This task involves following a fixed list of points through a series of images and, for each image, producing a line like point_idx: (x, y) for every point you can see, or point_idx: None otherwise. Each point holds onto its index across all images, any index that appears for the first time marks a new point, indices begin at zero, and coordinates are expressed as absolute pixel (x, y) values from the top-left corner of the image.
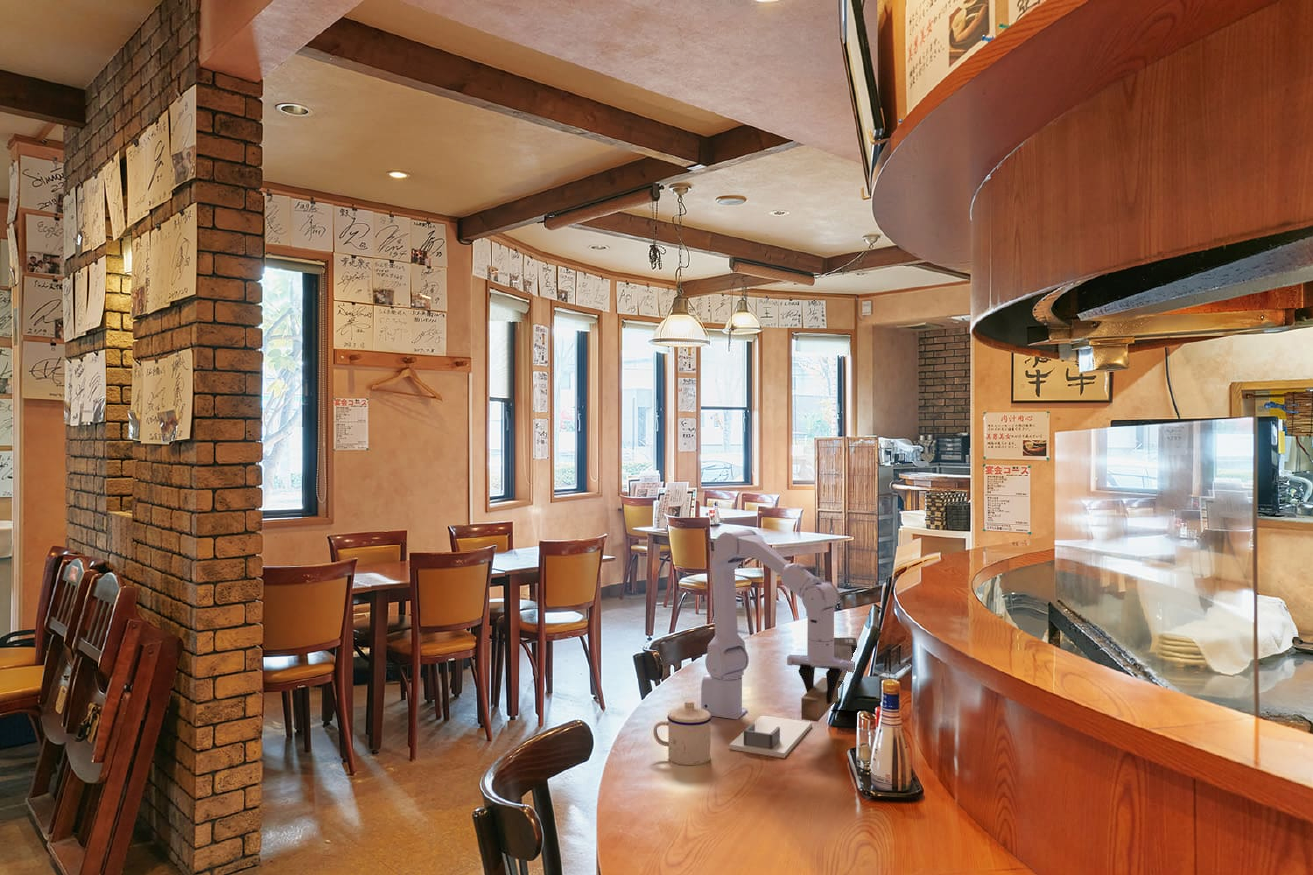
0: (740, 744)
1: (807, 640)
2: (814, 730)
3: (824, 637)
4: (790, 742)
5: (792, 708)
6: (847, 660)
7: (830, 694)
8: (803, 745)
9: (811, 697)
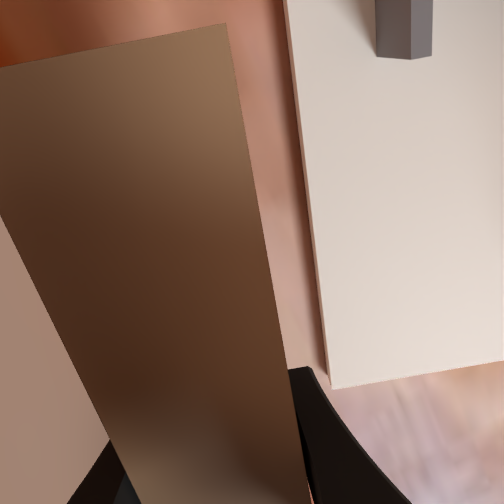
0: None
1: None
2: (300, 347)
3: None
4: (313, 77)
5: (459, 483)
6: None
7: (99, 457)
8: (260, 145)
9: (113, 163)
